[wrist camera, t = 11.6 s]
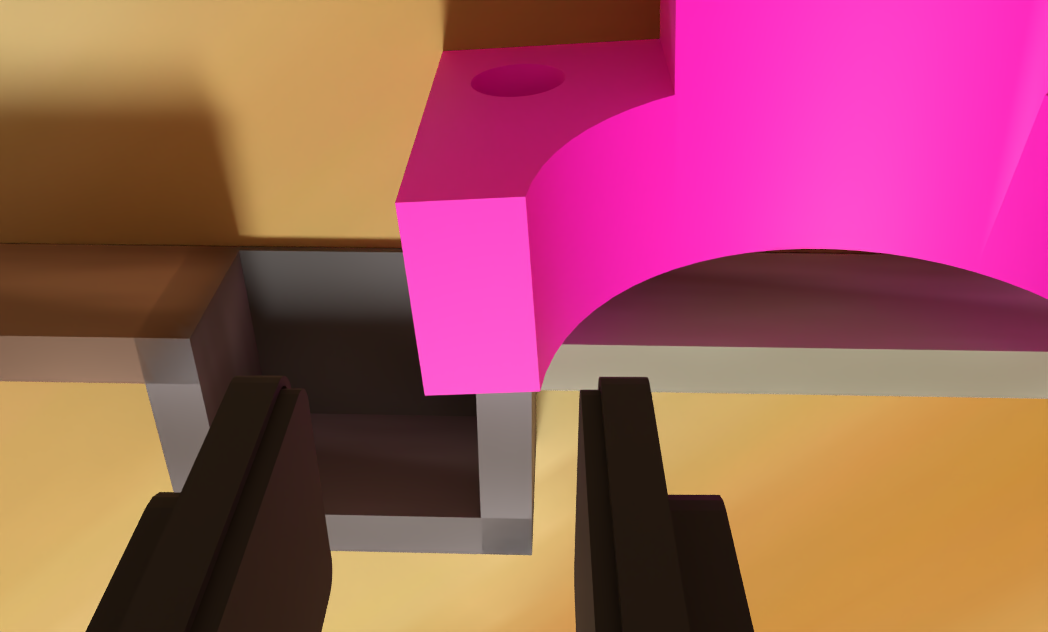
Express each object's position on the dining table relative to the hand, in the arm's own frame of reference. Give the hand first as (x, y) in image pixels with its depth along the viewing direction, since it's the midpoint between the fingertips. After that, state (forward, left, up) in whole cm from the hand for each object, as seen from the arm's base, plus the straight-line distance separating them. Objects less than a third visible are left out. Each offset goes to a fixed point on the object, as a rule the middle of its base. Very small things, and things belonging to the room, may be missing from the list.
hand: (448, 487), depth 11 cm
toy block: (+1, -6, -13) cm, 15 cm away
